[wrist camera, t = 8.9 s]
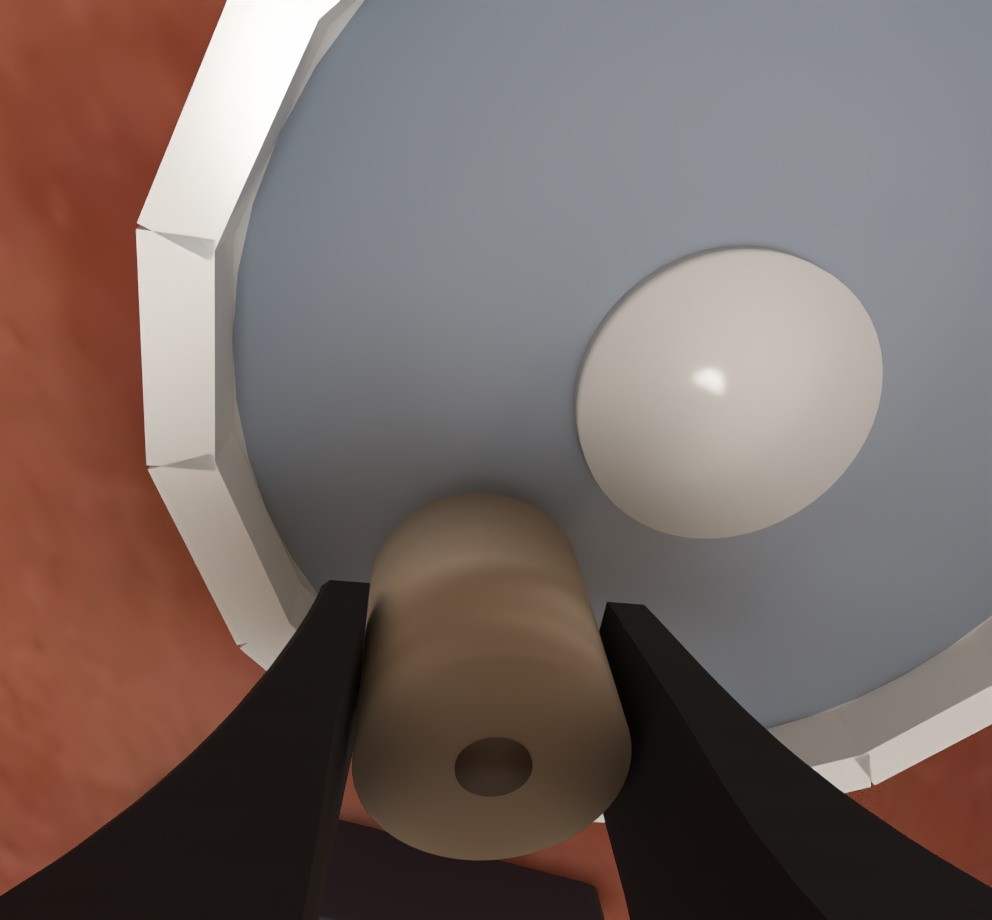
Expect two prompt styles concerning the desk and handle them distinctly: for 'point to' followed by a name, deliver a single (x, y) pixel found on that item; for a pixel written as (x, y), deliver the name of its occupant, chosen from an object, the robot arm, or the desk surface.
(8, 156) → the desk surface
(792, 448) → the ring tray
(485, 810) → the wooden bead
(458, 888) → the calculator
